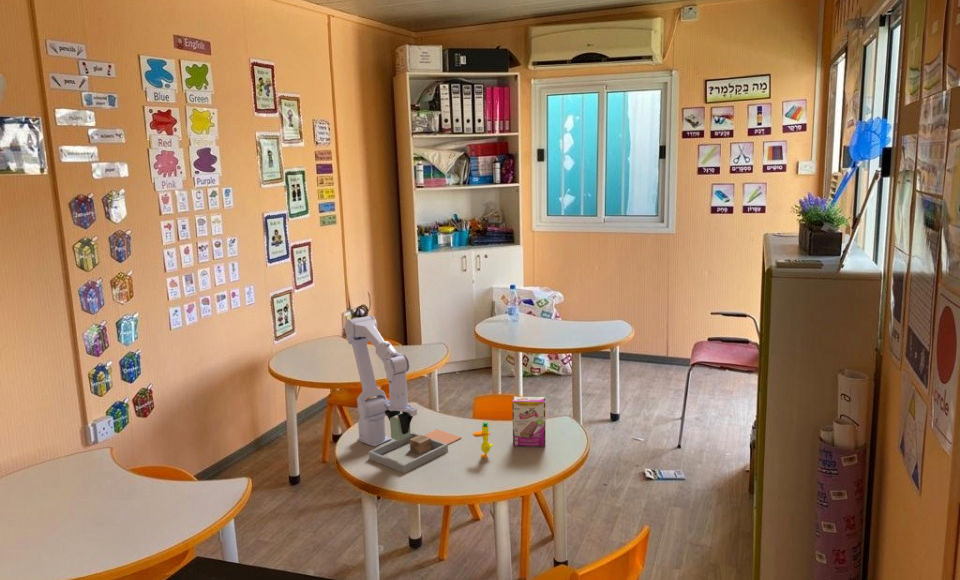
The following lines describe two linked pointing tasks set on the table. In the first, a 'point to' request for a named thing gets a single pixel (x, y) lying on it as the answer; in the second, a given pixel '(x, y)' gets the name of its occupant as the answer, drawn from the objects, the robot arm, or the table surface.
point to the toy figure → (484, 439)
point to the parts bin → (377, 456)
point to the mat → (442, 436)
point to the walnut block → (420, 444)
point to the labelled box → (397, 429)
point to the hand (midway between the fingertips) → (400, 431)
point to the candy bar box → (529, 421)
